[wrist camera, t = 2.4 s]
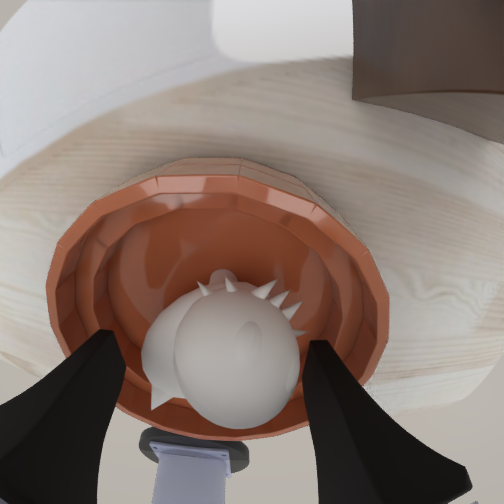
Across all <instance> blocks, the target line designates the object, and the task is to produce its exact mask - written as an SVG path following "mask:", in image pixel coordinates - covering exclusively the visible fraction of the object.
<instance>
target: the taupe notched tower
mask: <svg viewBox="0 0 504 504" xmlns="http://www.w3.org/2000/svg"><path fill="white" fill-rule="evenodd" d="M352 4H353V32H354V33H353V35H354V36H353V37H354V61H353V96H352V99H353V100H355V101H361V102H366V103H371V104H376V105H380V106H385V107H389V108H393V109H397V110H401V111H405V112H409V113H413V114H416V115H420V116H423V117H427V118H430V119H433V120H436V121H439V122H443V123H446V124H448V125H451V126H454V127H457V128H460V129H463V130H465V131H468V132H470V133H473V134H475V135H478V136H480V137H483V138H485V139H488V140H490V141H493V142H497V143H501V144H504V0H352Z"/></svg>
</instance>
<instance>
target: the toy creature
mask: <svg viewBox="0 0 504 504" xmlns="http://www.w3.org/2000/svg"><path fill="white" fill-rule="evenodd" d="M276 281H277V279H276V280H274V281H272V282H270V283H267V284H265V285H263V286H261V287H259V288H258V287H256V286H254V285H252V284H250V283H248V282H238V280H237V277H236V276H235V275H234V274H233V273H232V272H231V271H229V270H225V269H219V270H216V271H215V272H213V273H212V275H211V277H210V282H209V285H205V286H204V285H202V284H201V283H199V282H198V281H197V282H198V285H199V288H197V289H195V290H193V291H191V292H189V293H187V294H185V295H183V296H181V297H179V298H178V299H177V300H176V301H174V302H173V303H172V304H171V305H169V306H168V307H167V308H166V309H164V310H163V311H162V312H161V313H160V314H159V316H158V317H157V318H156V320H155V321H154V322H153V324H152V325H151V327H150V328H149V330H148V331H147V333H146V336H145V339H144V343H143V346H142V350H141V358H142V367H143V371H144V373H145V374H146V376H147V378H148V379H149V381H150V383H151V384H152V395H151V410H153V409H154V408H156V407H158V406H160V405H161V404H163V403H165V402H166V401H168V400H170V399H171V398H173V397H176V398H184V399H187V401H188V402H189V403H190V405H191V406H192V407H193V408H194V409H195V410H196V411H197V412H198V413H199V414H200V415H201V416H203V417H204V418H206V419H207V420H209V421H211V422H212V423H214V424H216V425H219V426H223V427H226V428H232V429H247V428H254V427H257V426H260V425H262V424H264V423H266V422H268V421H269V420H271V419H272V418H274V417H275V416H276V415H277V414H279V413H280V412H281V411H282V409H283V408H284V407H285V405H286V404H287V402H288V401H289V399H290V398H291V396H292V394H293V392H294V390H295V388H296V385H297V381H298V376H299V372H300V360H299V358H300V355H299V346H298V343H297V339H296V337H298V336H300V335H303V334H305V333H308V332H307V331H302V330H297V329H292V327H291V325H290V323H289V321H290V319H291V318H292V316H293V315H294V314H295V312H296V311H297V309H298V308H299V306H300V305H301V303H302V302H303V301H300V302H298V303H296V304H293V305H291V306H288V307H286V308H283V309H281V310H280V309H279V307H280V305H281V304H282V302H283V300H284V299H285V297H286V296H287V294H288V293H289V291H290V290H288V291H286V292H284V293H281V294H279V295H277V296H274V297H272V298H271V297H270V295H269V294H268V293H269V292H270V290H271V289H272V287H273V286H274V284H275V283H276Z"/></svg>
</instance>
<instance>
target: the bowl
mask: <svg viewBox="0 0 504 504" xmlns="http://www.w3.org/2000/svg"><path fill="white" fill-rule="evenodd" d="M219 269H225V270H229V271H231V272H232V273H233V274H234V275H235V276H236V277H237V280H238V282H248V283H250V284H252V285H254V286H256V287H258V288H259V287H261V286H263V285H265V284H267V283H270V282H272V281H274V280H276V279H277V281H276V283H275V284H274V286H273V287H272V289H271V290H270V292H269V293H268V294H269V295H270V297H271V298H272V297H274V296H277V295H279V294H281V293H284V292H286V291H288V290H290V291H289V293H288V294H287V296H286V297H285V299H284V300H283V302H282V304H281V305H280V307H279V309H280V310H281V309H283V308H286V307H288V306H291V305H293V304H296V303H298V302H300V301H303V302H302V303H301V305H300V306H299V308H298V309H297V311H296V312H295V314H294V315H293V316H292V318H291V319H290V321H289V323H290V325H291V327H292V329H297V330H302V331H307V332H308V333H305V334H303V335H300V336H298V337H296V339H297V343H298V346H299V355H300V358H299V360H300V372H299V376H298V381H297V385H296V388H295V390H294V392H293V394H292V396H291V398H290V399H289V401H288V402H287V404H286V405H285V407H284V408H283V409H282V411H281V412H280V413H279V414H277V415H276V416H275V417H274V418H272V419H271V420H269V421H268V422H266V423H264V424H262V425H260V426H257V427H254V428H247V429H232V428H226V427H223V426H219V425H216V424H214V423H212V422H211V421H209V420H207V419H206V418H204V417H203V416H201V415H200V414H199V413H198V412H197V411H196V410H195V409H194V408H193V407H192V406H191V405H190V403H189V402H188V401H187V399H184V398H176V397H173V398H171V399H170V400H168V401H166V402H165V403H163V404H161V405H160V406H158V407H156V408H154V409H153V410H151V395H152V384H151V383H150V381H149V379H148V378H147V376H146V374H145V373H144V371H143V367H142V358H141V350H142V346H143V343H144V339H145V336H146V333H147V331H148V330H149V328H150V327H151V325H152V324H153V322H154V321H155V320H156V318H157V317H158V316H159V314H160V313H161V312H162V311H163V310H164V309H166V308H167V307H168V306H169V305H171V304H172V303H173V302H174V301H176V300H177V299H178V298H179V297H181V296H183V295H185V294H187V293H189V292H191V291H193V290H195V289H197V288H199V285H198V282H199V283H201V284H202V285H204V286H205V285H209V282H210V277H211V275H212V273H213V272H215V271H216V270H219ZM197 281H198V282H197ZM46 295H47V304H48V312H49V319H50V324H51V328H52V330H53V332H54V334H55V336H56V338H57V341H58V343H59V345H60V347H61V349H62V351H63V353H64V355H65V357H66V358H67V357H69V356H70V355H71V354H72V353H73V352H74V351H75V350H76V349H78V348H79V347H80V346H81V345H82V344H83V343H84V342H85V341H86V340H87V339H89V338H90V337H91V336H92V335H93V334H94V333H95V332H97V331H98V330H99V329H106V330H113V331H114V333H115V336H116V339H117V342H118V345H119V348H120V350H121V353H122V356H123V358H124V361H125V364H126V366H127V367H126V372H125V376H124V381H123V385H122V389H121V392H120V395H119V397H118V400H117V403H116V406H115V407H117V408H118V409H120V410H121V411H123V412H124V413H126V414H128V415H130V416H132V417H134V418H136V419H138V420H141V421H143V422H145V423H147V424H149V425H152V426H154V427H156V428H159V429H161V430H165V431H169V432H172V433H176V434H180V435H185V436H189V437H193V438H199V439H208V440H224V441H242V440H251V439H258V438H267V437H273V436H278V435H281V434H284V433H287V432H291V431H294V430H297V429H299V428H302V427H305V426H308V425H309V422H308V417H307V412H306V408H305V403H304V396H303V386H302V373H303V369H304V365H305V360H306V356H307V352H308V348H309V343H310V340H328V341H329V343H330V344H331V346H332V347H333V348H334V350H335V351H336V353H337V354H338V356H339V357H340V358H341V360H342V361H343V363H344V364H345V365H346V367H347V368H348V369H349V371H350V372H351V373H352V375H353V376H354V377H355V378H356V380H357V381H358V382H359V383H360V385H361V386H363V385H364V384H365V383H366V382H367V381H368V380H369V379H370V378H371V376H372V375H373V373H374V371H375V369H376V367H377V364H378V362H379V360H380V358H381V356H382V353H383V351H384V349H385V347H386V344H387V342H388V336H389V294H388V292H387V289H386V287H385V285H384V282H383V280H382V278H381V275H380V273H379V271H378V269H377V266H376V264H375V262H374V260H373V258H372V256H371V253H370V251H369V249H368V248H367V247H366V246H365V244H364V243H363V242H362V241H361V239H360V238H359V237H358V236H357V235H356V233H355V232H354V231H353V230H352V229H351V228H350V227H349V225H348V224H347V223H346V222H345V221H344V219H343V218H342V217H341V216H340V215H339V214H338V213H337V212H336V211H335V210H334V209H333V208H332V207H331V206H330V205H328V204H327V203H326V202H325V201H324V200H323V199H322V198H320V197H319V196H318V195H317V194H316V193H315V192H313V191H312V190H311V189H310V188H309V187H307V186H306V185H305V184H304V183H303V182H301V181H300V180H299V179H297V178H296V177H293V176H290V175H288V174H285V173H282V172H280V171H277V170H274V169H272V168H269V167H266V166H263V165H261V164H258V163H255V162H252V161H249V160H246V159H241V158H184V159H180V160H177V161H174V162H171V163H169V164H166V165H163V166H161V167H158V168H156V169H153V170H150V171H148V172H145V173H143V174H141V175H138V176H136V177H134V178H132V179H130V180H128V181H127V182H125V183H123V184H122V185H120V186H118V187H117V188H115V189H113V190H112V191H110V192H108V193H107V194H105V195H104V196H102V197H100V198H99V199H97V200H96V201H94V202H93V203H92V204H91V205H90V206H89V207H88V208H87V209H86V210H85V211H84V212H83V213H82V214H81V215H80V216H79V218H78V219H77V220H76V221H75V222H74V223H73V224H72V225H71V227H70V228H69V229H68V230H67V231H66V232H65V233H64V235H63V236H62V237H61V238H60V239H59V241H58V243H57V246H56V249H55V252H54V255H53V259H52V262H51V266H50V269H49V273H48V277H47V281H46Z"/></svg>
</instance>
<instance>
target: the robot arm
mask: <svg viewBox="0 0 504 504" xmlns="http://www.w3.org/2000/svg"><path fill="white" fill-rule="evenodd" d="M126 367H127V366H126V364H125V361H124V358H123V356H122V353H121V350H120V348H119V345H118V342H117V339H116V336H115V333H114V331H113V330H106V329H99V330H98V331H97V332H95V333H94V334H93V335H92V336H91V337H90V338H89V339H87V340H86V341H85V342H84V343H83V344H82V345H81V346H80V347H79V348H78V349H76V350H75V351H74V352H73V353H72V354H71V355H70V356H69V357H67V358H66V359H65V360H64V361H63V362H62V363H61V364H60V365H58V366H57V367H56V368H55V369H53V370H52V371H51V372H50V373H49V374H47V375H46V376H45V377H44V378H43V379H41V380H40V381H39V382H37V383H36V384H35V385H33V386H32V387H30V388H29V389H27V390H26V391H24V392H23V393H21V394H20V395H18V396H16V397H14V398H13V399H11V400H9V401H7V402H6V403H4V404H2V405H0V504H97V484H98V473H99V465H100V458H101V453H102V447H103V442H104V438H105V435H106V431H107V429H108V426H109V423H110V420H111V417H112V414H113V411H114V408H115V406H116V403H117V400H118V397H119V395H120V392H121V389H122V385H123V381H124V376H125V372H126ZM302 386H303V396H304V403H305V408H306V412H307V417H308V422H309V426H310V431H311V435H312V440H313V445H314V450H315V456H316V465H317V478H318V494H319V495H318V496H319V504H447V503H449V502H451V501H453V500H455V499H456V498H458V497H460V496H462V495H463V494H465V493H467V492H468V491H470V490H471V489H472V483H471V480H470V478H469V475H468V472H467V470H466V468H465V466H462V465H460V464H458V463H456V462H454V461H452V460H450V459H448V458H446V457H444V456H442V455H441V454H439V453H437V452H435V451H434V450H432V449H431V448H429V447H427V446H426V445H425V444H423V443H422V442H420V441H419V440H418V439H416V438H415V437H414V436H412V435H411V434H410V433H408V432H407V431H406V430H404V429H403V428H402V427H401V426H400V425H399V424H398V423H396V422H395V421H394V420H393V419H392V418H391V417H390V416H389V415H388V414H387V413H386V412H385V411H384V410H383V409H382V408H381V407H380V406H379V405H378V404H377V403H376V402H375V401H374V400H373V399H372V398H371V396H370V395H369V394H368V393H367V392H366V391H365V389H364V388H363V387H362V386H361V385H360V383H359V382H358V381H357V380H356V378H355V377H354V376H353V375H352V373H351V372H350V371H349V369H348V368H347V367H346V365H345V364H344V363H343V361H342V360H341V358H340V357H339V356H338V354H337V353H336V351H335V350H334V348H333V347H332V346H331V344H330V343H329V341H328V340H310V343H309V348H308V352H307V356H306V360H305V365H304V369H303V373H302ZM149 445H150V446H151V448H152V450H153V451H154V453H155V454H156V456H157V457H158V459H159V463H158V469H157V474H156V480H155V486H154V493H153V498H152V504H225V479H226V478H230V477H231V467H230V457H229V450H227V449H218V448H204V447H193V446H184V445H176V444H169V443H162V442H156V441H150V444H149ZM471 504H478V502H477V501H475V502H473V503H471Z"/></svg>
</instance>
